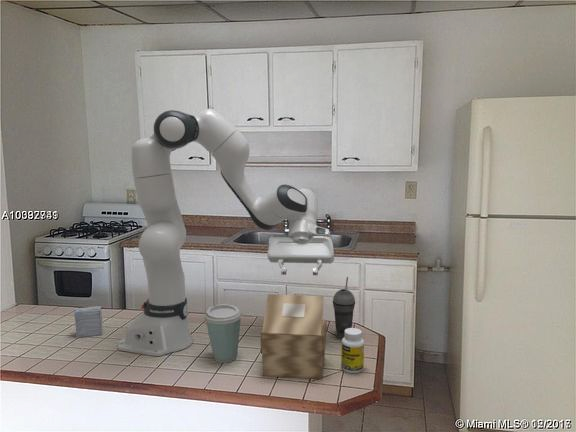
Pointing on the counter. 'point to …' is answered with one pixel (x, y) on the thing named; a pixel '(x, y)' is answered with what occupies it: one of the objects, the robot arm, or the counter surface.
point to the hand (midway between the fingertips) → (299, 274)
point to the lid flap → (293, 315)
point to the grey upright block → (88, 321)
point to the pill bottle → (352, 351)
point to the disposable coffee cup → (223, 331)
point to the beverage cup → (343, 310)
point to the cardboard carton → (293, 355)
